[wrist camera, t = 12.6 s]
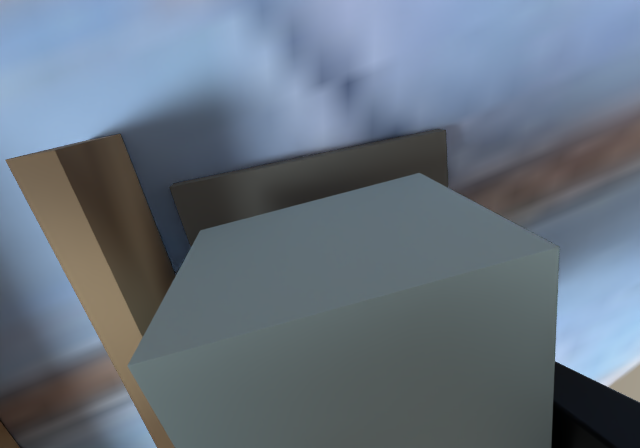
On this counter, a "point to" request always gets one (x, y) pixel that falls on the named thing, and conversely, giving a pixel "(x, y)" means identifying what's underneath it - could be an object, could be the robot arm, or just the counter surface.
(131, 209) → the frame
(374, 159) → the mat
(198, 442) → the blank block
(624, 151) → the counter surface
